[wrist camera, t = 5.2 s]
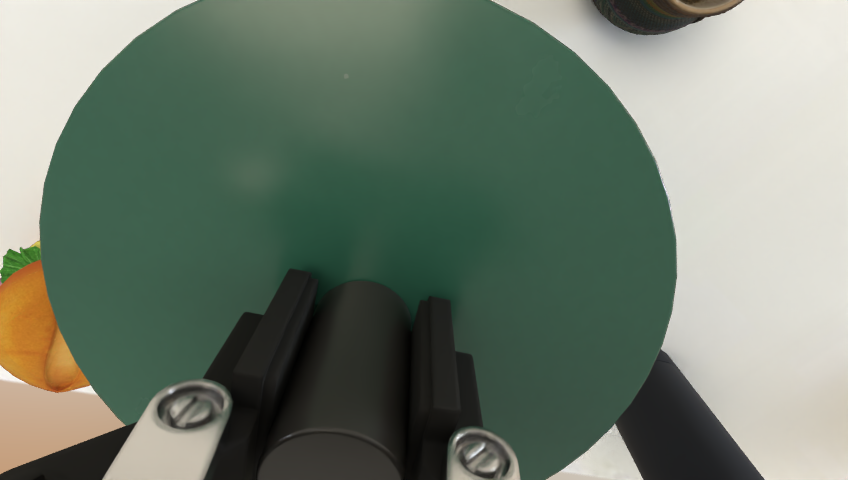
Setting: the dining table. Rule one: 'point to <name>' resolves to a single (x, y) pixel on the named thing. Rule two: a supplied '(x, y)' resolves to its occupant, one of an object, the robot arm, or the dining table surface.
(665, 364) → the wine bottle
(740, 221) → the dining table surface
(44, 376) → the cheeseburger
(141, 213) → the lid
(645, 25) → the mate gourd
